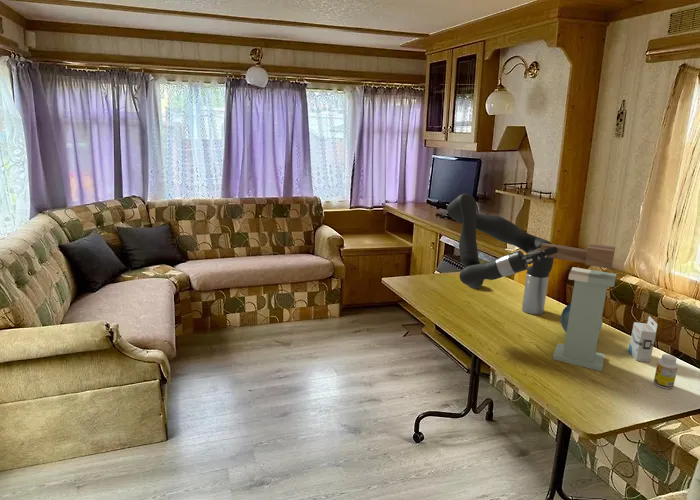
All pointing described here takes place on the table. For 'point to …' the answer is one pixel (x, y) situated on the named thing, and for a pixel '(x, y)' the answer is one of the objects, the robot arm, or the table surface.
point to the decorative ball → (566, 317)
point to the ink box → (643, 340)
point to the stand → (585, 319)
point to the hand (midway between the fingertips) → (557, 248)
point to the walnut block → (584, 254)
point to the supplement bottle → (666, 371)
